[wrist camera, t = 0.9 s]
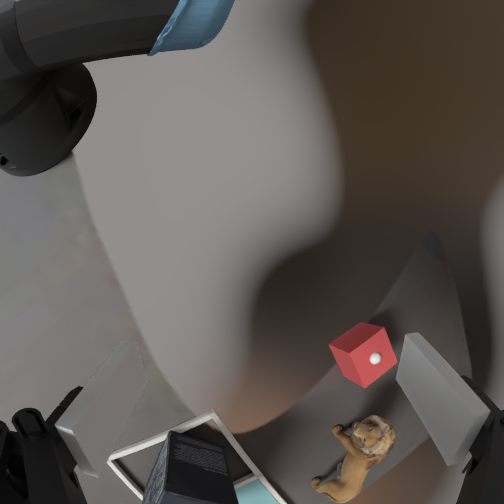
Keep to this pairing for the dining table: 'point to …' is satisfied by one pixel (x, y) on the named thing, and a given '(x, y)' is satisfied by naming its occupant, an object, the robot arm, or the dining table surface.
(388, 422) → the lion figurine
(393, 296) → the dining table surface
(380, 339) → the red block
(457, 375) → the robot arm
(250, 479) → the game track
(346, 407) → the dining table surface
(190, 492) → the small box
